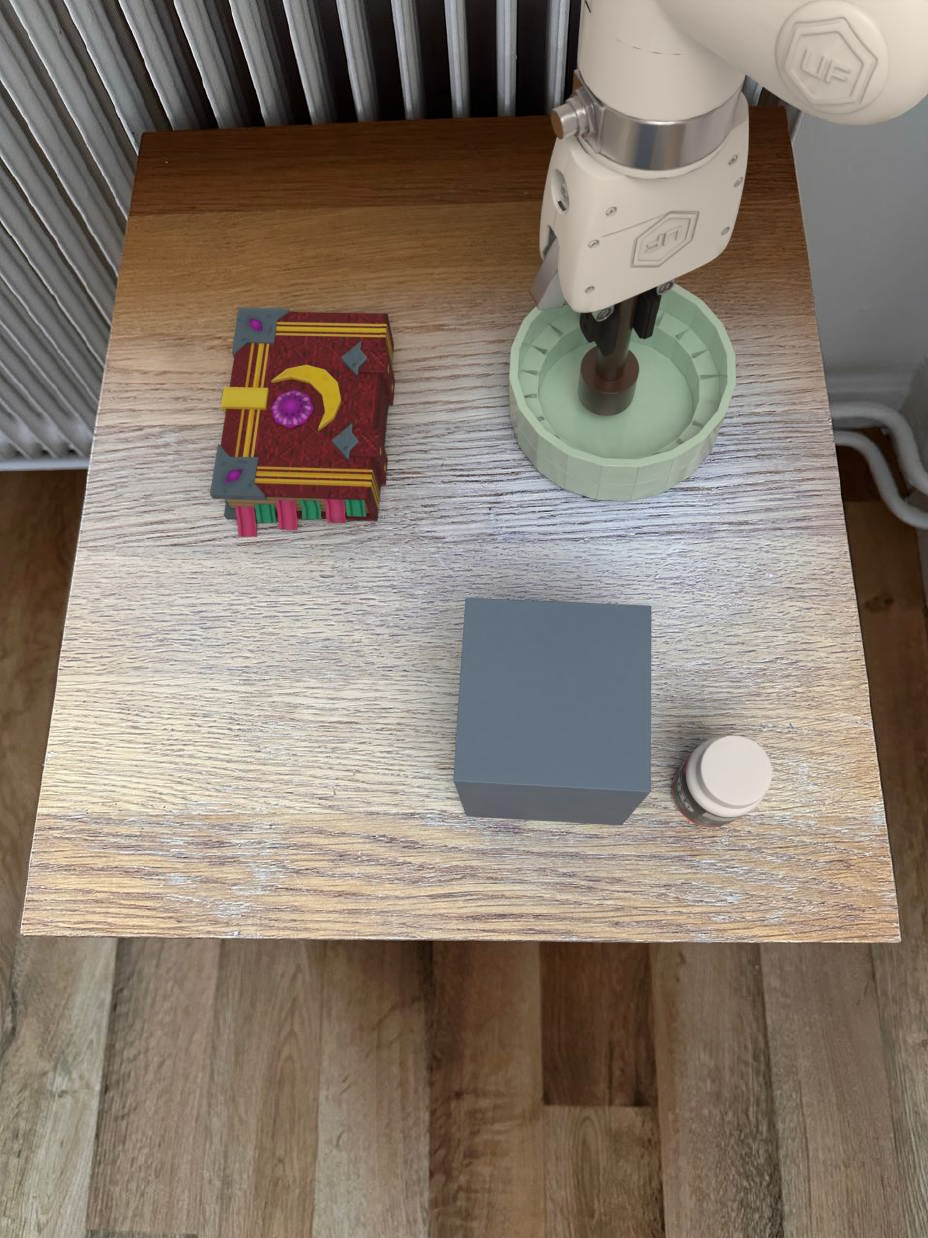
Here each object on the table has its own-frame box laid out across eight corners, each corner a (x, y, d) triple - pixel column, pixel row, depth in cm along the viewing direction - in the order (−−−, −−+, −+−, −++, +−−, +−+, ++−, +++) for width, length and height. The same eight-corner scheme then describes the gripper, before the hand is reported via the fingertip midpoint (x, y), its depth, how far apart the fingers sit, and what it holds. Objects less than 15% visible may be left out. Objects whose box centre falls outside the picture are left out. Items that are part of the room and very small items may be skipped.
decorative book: (398, 346, 75) (390, 305, 70) (380, 541, 70) (370, 511, 65) (252, 343, 75) (234, 302, 71) (224, 535, 70) (203, 506, 66)
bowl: (716, 325, 74) (733, 274, 68) (720, 509, 69) (738, 470, 63) (515, 321, 75) (515, 269, 69) (505, 501, 70) (504, 462, 64)
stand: (624, 674, 66) (651, 604, 52) (622, 825, 62) (650, 792, 49) (475, 667, 66) (465, 597, 53) (466, 816, 63) (453, 781, 50)
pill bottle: (669, 754, 64) (691, 726, 56) (743, 755, 63) (775, 728, 56) (672, 828, 62) (694, 810, 54) (747, 830, 62) (781, 812, 54)
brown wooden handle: (634, 368, 70) (660, 244, 58) (633, 417, 69) (660, 301, 57) (578, 366, 70) (592, 243, 58) (576, 415, 69) (590, 300, 57)
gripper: (538, 215, 43) (531, 425, 61) (850, 84, 45) (755, 326, 62) (466, 98, 46) (479, 333, 63) (764, -23, 47) (696, 239, 65)
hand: (616, 328), depth 62 cm, fingers closed on brown wooden handle, 2 cm apart
